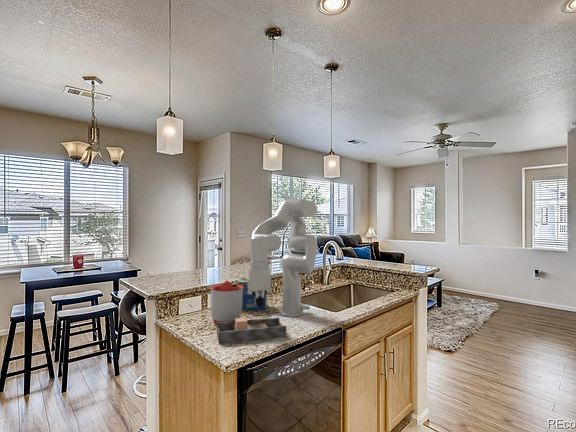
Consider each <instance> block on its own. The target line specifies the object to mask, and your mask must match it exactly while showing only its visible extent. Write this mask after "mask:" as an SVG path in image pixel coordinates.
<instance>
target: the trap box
mask: <svg viewBox="0 0 576 432" xmlns="http://www.w3.org/2000/svg"><path fill="white" fill-rule="evenodd" d="M216 337H217V342H218V344H219V345H221V344H231V343H243V342H251V341H261V340H269V339H279V338H280V339H282V338H287V325H283V324H282V323H281V322H280V317H271V318H259V319H258V318H257V319H247V329H244V330H236V329H235V321H231V322H219V323H217V324H216Z"/></svg>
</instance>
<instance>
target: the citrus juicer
mask: <svg viewBox="0 0 576 432" xmlns="http://www.w3.org/2000/svg"><path fill="white" fill-rule="evenodd" d="M242 301H243V286H242V285H238V284H237V285H236V287H234V286H233V284H232V283H231V282H230V281H229V280H226V281H224V282H223V283H217V284H214V285H211V286H210V312H211V313H210V314H211V316H212V317H211V318H212V320H213V323H214V324H215V325H217V323H219V322H231V321H235V318H241V314H242V311H243V310H242Z"/></svg>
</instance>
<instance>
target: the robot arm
mask: <svg viewBox="0 0 576 432" xmlns="http://www.w3.org/2000/svg"><path fill="white" fill-rule="evenodd" d="M317 212H318V207H317V204H316V203H315V202H314V201H313V200H308V199H303V198H287V199H286V198H285V199H284V200H282V202H281V203H280V204H279V205H278V208H277V209H276V211H274V214H273V216H271V217H270V218H268V219H267V220H265V221H263V222H261V223H260V224H259V225H258V226H257V227H256V228H255V230H253V232H252V235H251V236H250V239H249V244H250V245H249V246H250V254H249V255H250V256H249V257H250V266H249V267H248V270H247V277H246V278H247V288H248V290H247V293H248V294H252V295H254V296H255V297H256V305H257V306H258V307H262V304H263V298H264V296H265V295H266V294H267V295H268V294H269V293H271V292H272V291H273V290H272V275H271V269H270V267H269V265H271V264H272V260H269V253H268V252H275V251H277V250H279V249H280V247H281V246H282V240H281V237H280V236H279V235H277V234H272V233H275V232H279V231H282V230H285V229H286V228H287V227H288V225H289V223H290V231H289V236H288V240H287V248H288V250H289V251H291V252H294V253H286V254H284V255H283V256H282V257H281V261H280V263H281V269H282V308H281V309H280V310H279V315H280V316H283V317H291V318H294V317H295V318H296V317H301V316H303V315H304V311H305V310H310V305H305V304H301V299H302V298H301V296H302V294H301V293H302V279H301V277H300V275H299V273H300V274H310V273H312V272H314V268H315V263H316V258H317V257H316V256H317V252H318V251H317V250H318V240H317V238H316V236H314V235H312V234H306V232H307V231H306V230H307V224H306V223H305V221H304V220H303V218H313V217H315V216H316V215H317ZM301 253H302V254H301ZM303 253H305V254H303ZM258 291H261V292H260V296H259V295H258Z"/></svg>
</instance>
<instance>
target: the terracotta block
mask: <svg viewBox="0 0 576 432" xmlns="http://www.w3.org/2000/svg"><path fill="white" fill-rule="evenodd" d="M247 320H248V319H247V318H246V317H240V318H235V329H236V330H244V329H247Z"/></svg>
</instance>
